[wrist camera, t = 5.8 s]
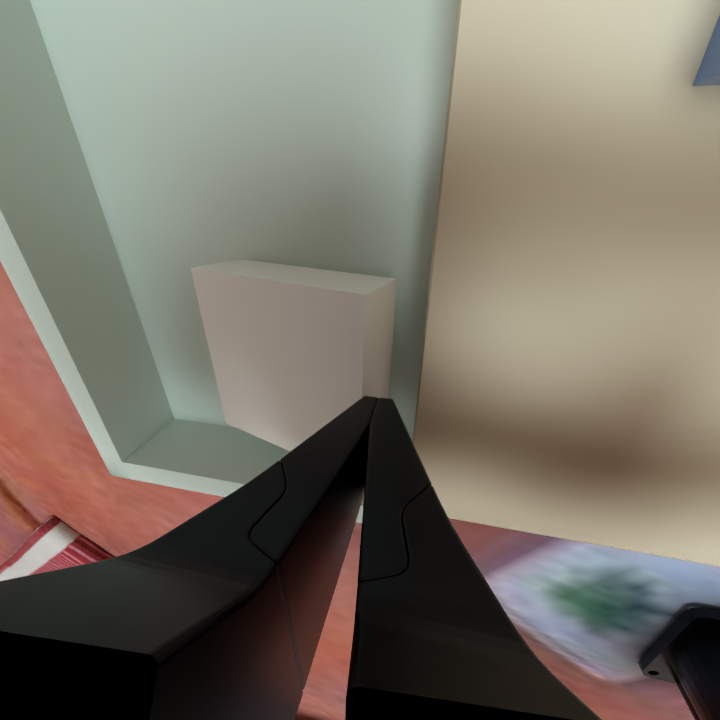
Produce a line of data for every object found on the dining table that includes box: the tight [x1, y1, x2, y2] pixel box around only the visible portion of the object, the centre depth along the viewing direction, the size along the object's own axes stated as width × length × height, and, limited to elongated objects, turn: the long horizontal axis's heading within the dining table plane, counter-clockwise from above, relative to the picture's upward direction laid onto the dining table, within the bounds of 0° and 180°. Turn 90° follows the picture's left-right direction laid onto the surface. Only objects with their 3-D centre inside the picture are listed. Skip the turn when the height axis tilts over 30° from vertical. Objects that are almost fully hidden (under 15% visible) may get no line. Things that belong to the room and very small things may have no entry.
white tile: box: [191, 259, 397, 451], centre depth 10 cm, size 6×6×2 cm
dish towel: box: [0, 516, 115, 581], centre depth 30 cm, size 17×23×3 cm
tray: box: [0, 0, 458, 523], centre depth 9 cm, size 21×13×4 cm, turn 0°
